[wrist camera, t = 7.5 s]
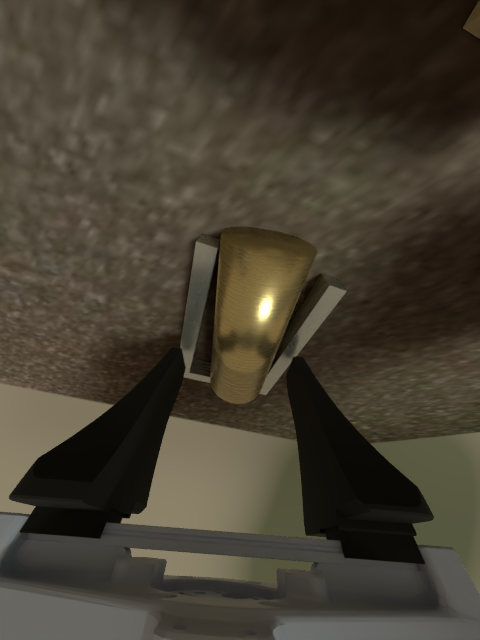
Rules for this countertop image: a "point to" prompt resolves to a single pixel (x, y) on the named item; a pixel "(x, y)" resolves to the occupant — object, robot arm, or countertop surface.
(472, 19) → the wooden stepped block
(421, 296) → the countertop surface
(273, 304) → the axle
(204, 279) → the cradle
